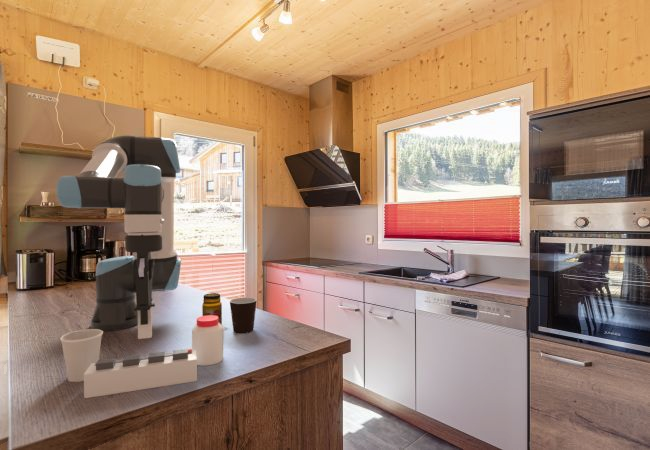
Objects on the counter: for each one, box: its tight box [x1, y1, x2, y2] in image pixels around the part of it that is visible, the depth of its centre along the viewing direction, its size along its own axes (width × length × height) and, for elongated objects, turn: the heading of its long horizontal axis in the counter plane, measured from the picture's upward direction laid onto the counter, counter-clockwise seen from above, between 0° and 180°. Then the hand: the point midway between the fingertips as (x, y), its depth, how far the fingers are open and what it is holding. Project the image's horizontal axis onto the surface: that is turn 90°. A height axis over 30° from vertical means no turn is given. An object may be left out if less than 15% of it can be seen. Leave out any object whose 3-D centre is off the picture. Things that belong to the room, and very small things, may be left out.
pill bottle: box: [191, 315, 224, 367], centre depth 94 cm, size 8×8×11 cm
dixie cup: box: [59, 328, 104, 383], centre depth 84 cm, size 8×8×10 cm
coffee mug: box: [229, 296, 258, 335], centre depth 119 cm, size 12×9×10 cm
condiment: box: [201, 292, 227, 331], centre depth 118 cm, size 7×8×12 cm
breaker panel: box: [83, 348, 198, 399], centre depth 81 cm, size 6×22×6 cm, turn 111°
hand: (145, 337), depth 82 cm, fingers closed
